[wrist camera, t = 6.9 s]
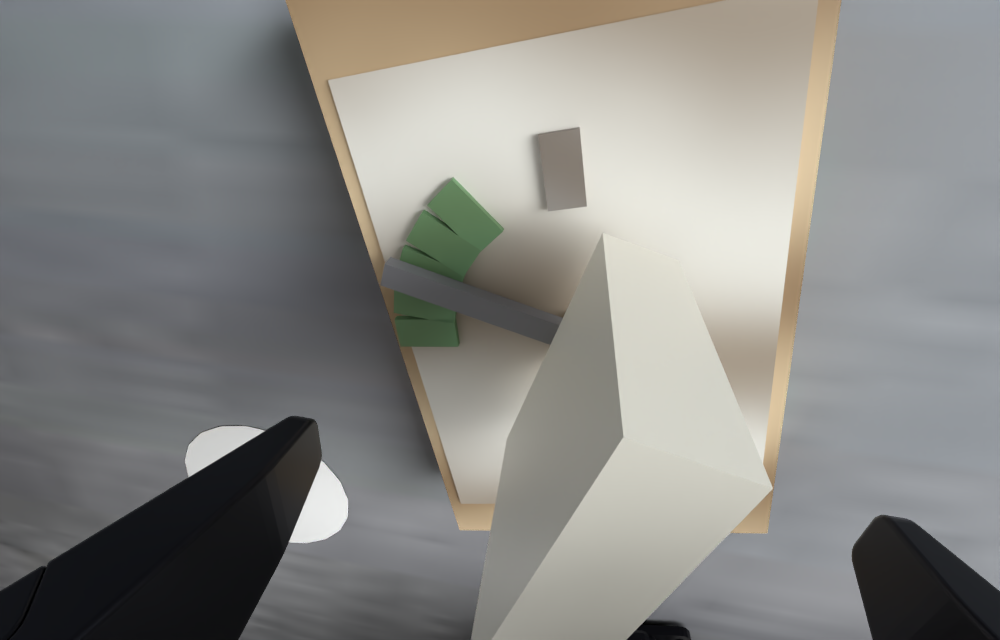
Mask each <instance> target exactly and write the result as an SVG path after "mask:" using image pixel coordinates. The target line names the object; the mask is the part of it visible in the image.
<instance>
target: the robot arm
mask: <svg viewBox="0 0 1000 640" xmlns="http://www.w3.org/2000/svg"><path fill="white" fill-rule="evenodd" d="M321 458H322V451H321V445H320V438H319V431H318V426H317V423H316V421H315V420H314V419H311V418H305V417H299V416H290V417H288V418H286V419H284V420H282V421H281V422H279V423H277V424H276V425H274V426H272V427H271V428H269V429H267V430H266V431H264V432H262V433H261V434H259V435H258V436H256V437H254V438H253V439H251V440H249V441H248V442H246V443H244V444H243V445H241V446H239V447H238V448H236V449H234V450H233V451H231V452H229V453H228V454H226V455H224V456H223V457H221V458H220V459H218V460H216V461H215V462H213V463H211V464H210V465H208V466H206V467H205V468H203V469H201V470H200V471H198V472H196V473H195V474H193V475H191V476H190V477H188V478H187V479H185V480H183V481H182V482H180V483H178V484H177V485H175V486H173V487H172V488H170V489H168V490H167V491H165V492H163V493H162V494H160V495H158V496H157V497H155V498H153V499H152V500H150V501H149V502H147V503H145V504H144V505H142V506H140V507H139V508H137V509H135V510H134V511H132V512H130V513H129V514H127V515H125V516H124V517H122V518H120V519H119V520H117V521H116V522H114V523H112V524H111V525H109V526H107V527H106V528H104V529H102V530H101V531H99V532H97V533H96V534H94V535H92V536H91V537H89V538H87V539H86V540H84V541H83V542H81V543H79V544H78V545H76V546H74V547H73V548H71V549H69V550H68V551H66V552H64V553H63V554H61V555H59V556H58V557H56V558H54V559H53V560H51V561H50V562H49V563H48V565H47V567H46V566H41V567H39V568H38V569H36V570H34V571H33V572H31V573H29V574H28V575H26V576H24V577H23V578H21V579H19V580H18V581H16V582H14V583H13V584H11V585H9V586H8V587H6V588H4V589H3V590H1V591H0V640H238V639H239V637H240V635H241V634H242V632H243V630H244V628H245V626H246V624H247V622H248V620H249V619H250V617H251V615H252V613H253V611H254V609H255V607H256V605H257V604H258V602H259V600H260V598H261V596H262V594H263V592H264V590H265V589H266V587H267V585H268V583H269V581H270V579H271V577H272V575H273V574H274V572H275V570H276V568H277V566H278V564H279V562H280V560H281V558H282V556H283V554H284V552H285V550H286V547H287V545H288V543H289V540H290V538H291V536H292V533H293V531H294V528H295V526H296V523H297V521H298V519H299V516H300V514H301V511H302V509H303V506H304V504H305V501H306V499H307V496H308V494H309V492H310V489H311V487H312V484H313V482H314V479H315V477H316V474H317V472H318V469H319V467H320V463H321ZM852 562H853V566H854V570H855V574H856V578H857V582H858V585H859V589H860V593H861V597H862V601H863V605H864V608H865V612H866V616H867V620H868V624H869V627H870V631H871V635H872V639H873V640H1000V591H999V590H998V589H996V588H995V587H994V586H993V585H991V584H990V583H989V582H988V581H986V580H985V579H984V578H983V577H981V576H980V575H979V574H978V573H977V572H975V571H974V570H973V569H972V568H970V567H969V566H968V565H967V564H965V563H964V562H963V561H962V560H960V559H959V558H958V557H957V556H956V555H954V554H953V553H952V552H951V551H949V550H948V549H947V548H946V547H944V546H943V545H942V544H941V543H939V542H938V541H937V540H936V539H935V538H933V537H932V536H931V535H930V534H928V533H927V532H926V531H925V530H923V529H922V528H921V527H920V526H918V525H917V524H916V523H914V522H913V521H911V520H908V519H905V518H900V517H894V516H888V515H880V516H877V517H875V518H874V519H873V520H872V522H871V523H870V524H869V526H868V527H867V528H866V530H865V531H864V532H863V534H862V535H861V536H860V537H859V539H858V540H857V541H856V543H855V544H854V546H853V549H852ZM627 640H691V637H690V632H689V630H687V629H686V628H683V627H677V626H656V625H640V626H639V627H638V628H637V629H636V630H635V631H634V632H633V633H632V634H631V636H630V637H629V638H628V639H627Z"/></svg>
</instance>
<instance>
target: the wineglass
mask: <svg viewBox="0 0 1000 640" xmlns="http://www.w3.org/2000/svg"><path fill="white" fill-rule="evenodd" d="M262 432H264V430H260V429H256V428H252V427H248V426H220V427H217V428H214V429H211V430H208V431H205V432H202V433H200V434H199V435H198V436H197V437H196V438H195V439H194V440H193V441H192V442H191V443H190V444H189V446H188V450H187V454H186V458H185V464H186V468H187V473H188V477H190V476H191V475H193V474H195V473H196V472H198V471H200V470H201V469H203V468H205V467H206V466H208V465H210V464H211V463H213V462H215V461H216V460H218V459H220V458H221V457H223V456H224V455H226V454H228V453H229V452H231V451H233V450H234V449H236V448H238V447H239V446H241V445H243V444H244V443H246V442H248V441H249V440H251V439H253V438H254V437H256V436H258V435H259V434H261V433H262ZM347 518H348V499H347V497H346V494H345V492H344V490H343V487H342V485H341V482H340V481H339V480H338V478H337V477H336V476H335V475H334V474H333V472H332V471H331V470H330V469H329V468H328V467H327V465H326V464H325V463H324V462H323V461H321V463H320V467H319V469H318V472H317V474H316V477H315V479H314V482H313V484H312V487H311V489H310V492H309V494H308V496H307V499H306V501H305V504H304V506H303V509H302V511H301V514H300V516H299V519H298V521H297V523H296V526H295V528H294V531H293V533H292V536H291V538H290V540H289V542H293V543H310V542H314V541H319V540H324V539H327V538H328V537H330V536H332V535H333V534H335V533H336V532H338V531H340V529H341V528H342V526H343V524H344V523H345V521H346V519H347Z"/></svg>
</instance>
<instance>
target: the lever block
mask: <svg viewBox="0 0 1000 640" xmlns="http://www.w3.org/2000/svg"><path fill="white" fill-rule="evenodd" d="M286 3H287V6H288V9H289V13H290V16H291V19H292V22H293V25H294V28H295V31H296V34H297V37H298V40H299V43H300V46H301V49H302V52H303V55H304V58H305V61H306V64H307V67H308V70H309V73H310V76H311V79H312V82H313V85H314V89H315V92H316V95H317V98H318V101H319V104H320V107H321V110H322V113H323V116H324V119H325V122H326V125H327V128H328V131H329V134H330V137H331V140H332V143H333V146H334V149H335V152H336V155H337V158H338V161H339V165H340V168H341V171H342V174H343V177H344V180H345V183H346V186H347V189H348V192H349V195H350V198H351V201H352V204H353V207H354V210H355V213H356V216H357V219H358V222H359V225H360V228H361V231H362V234H363V238H364V241H365V244H366V247H367V250H368V253H369V256H370V259H371V262H372V265H373V268H374V271H375V274H376V277H377V280H378V283H379V286H380V289H381V292H382V295H383V298H384V301H385V304H386V307H387V310H388V314H389V317H390V320H391V323H392V326H393V329H394V332H395V335H396V338H397V341H398V344H399V347H400V350H401V353H402V356H403V359H404V362H405V365H406V368H407V371H408V374H409V377H410V380H411V383H412V386H413V390H414V393H415V396H416V399H417V402H418V405H419V408H420V411H421V414H422V417H423V420H424V423H425V426H426V429H427V432H428V435H429V438H430V441H431V444H432V447H433V450H434V453H435V456H436V459H437V462H438V466H439V469H440V472H441V475H442V478H443V481H444V484H445V487H446V490H447V493H448V496H449V499H450V502H451V505H452V508H453V511H454V514H455V517H456V520H457V523H458V526H459V529H460V530H491V524H492V519H493V513H494V508H495V502H496V497H497V491H498V486H499V480H500V474H501V469H502V463H503V458H504V452H505V447H506V441H507V437H508V435H509V433H510V431H511V429H512V426H513V424H514V422H515V420H516V418H517V416H518V414H519V411H520V409H521V407H522V405H523V403H524V401H525V399H526V396H527V394H528V392H529V390H530V388H531V386H532V383H533V381H534V379H535V377H536V375H537V373H538V371H539V368H540V366H541V364H542V362H543V360H544V358H545V356H546V353H547V351H548V349H549V347H550V345H549V344H546V343H543V342H540V341H538V340H535V339H532V338H529V337H526V336H523V335H521V334H518V333H515V332H512V331H509V330H506V329H503V328H501V327H498V326H495V325H492V324H489V323H486V322H484V321H481V320H478V319H475V318H472V317H469V316H466V315H464V314H461V313H458V312H455V311H452V310H449V309H446V308H444V307H441V306H438V305H435V304H432V303H429V302H427V301H424V300H421V299H418V298H415V297H412V296H409V295H407V294H404V293H401V292H398V291H395V290H392V289H390V288H387V287H384V286H381V285H380V284H381V279H382V275H383V270H384V265H385V263H386V262H387V260H388V259H389V258H390V257H392V258H395V259H398V260H401V261H403V262H406V263H409V264H412V265H415V266H418V267H420V268H423V269H426V270H429V271H432V272H435V273H437V274H440V275H443V276H446V277H449V278H452V279H454V280H457V281H460V282H463V283H466V284H468V285H471V286H474V287H477V288H480V289H483V290H485V291H488V292H491V293H494V294H497V295H500V296H502V297H505V298H508V299H511V300H514V301H516V302H519V303H522V304H525V305H528V306H531V307H533V308H536V309H539V310H542V311H545V312H548V313H550V314H553V315H556V316H559V317H562V318H563V317H564V315H565V313H566V310H567V308H568V306H569V304H570V302H571V300H572V298H573V295H574V293H575V291H576V289H577V287H578V285H579V282H580V280H581V278H582V276H583V274H584V272H585V270H586V267H587V265H588V263H589V261H590V259H591V257H592V255H593V252H594V250H595V248H596V246H597V244H598V242H599V240H600V237H601V235H602V233H605V234H608V235H610V236H613V237H616V238H619V239H621V240H624V241H627V242H630V243H632V244H635V245H638V246H641V247H643V248H646V249H649V250H652V251H654V252H657V253H660V254H663V255H665V256H668V257H671V258H674V259H676V260H679V262H680V265H681V267H682V269H683V272H684V274H685V277H686V279H687V282H688V284H689V286H690V289H691V291H692V294H693V296H694V298H695V301H696V303H697V306H698V308H699V311H700V313H701V315H702V318H703V320H704V323H705V325H706V327H707V330H708V332H709V335H710V337H711V340H712V342H713V344H714V347H715V349H716V352H717V354H718V357H719V359H720V361H721V364H722V366H723V369H724V371H725V373H726V376H727V378H728V381H729V383H730V386H731V388H732V390H733V393H734V395H735V398H736V400H737V402H738V405H739V407H740V410H741V412H742V415H743V417H744V419H745V422H746V424H747V427H748V429H749V432H750V434H751V436H752V439H753V441H754V444H755V446H756V448H757V451H758V453H759V456H760V458H761V461H762V463H763V465H764V468H765V470H766V473H767V475H768V477H769V480H770V482H771V485H772V487H773V489H774V482H775V474H776V467H777V460H778V453H779V446H780V438H781V431H782V424H783V417H784V409H785V402H786V395H787V388H788V381H789V373H790V366H791V359H792V352H793V345H794V337H795V330H796V323H797V316H798V309H799V301H800V294H801V287H802V280H803V273H804V265H805V258H806V251H807V244H808V237H809V229H810V222H811V215H812V208H813V201H814V193H815V186H816V179H817V172H818V165H819V157H820V150H821V143H822V136H823V128H824V121H825V114H826V107H827V100H828V92H829V85H830V78H831V71H832V64H833V56H834V49H835V42H836V35H837V28H838V20H839V13H840V6H841V0H286ZM773 489H772V490H771V491H770V492H769V493H768V494H767V495H766V496H765V497H764V498H763V500H762V501H761V502H760V503H759V504H758V505H757V506H756V507H755V508H754V509H753V510H752V511H751V512H750V513H749V514H748V515H747V516H746V517H745V518H744V519H743V520H742V521H741V522H740V523H739V524H738V525H737V526H736V527H735V528H734V529H733V530H732V531H731V532H730V533H767V532H768V525H769V518H770V510H771V503H772V496H773Z"/></svg>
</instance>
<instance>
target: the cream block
mask: <svg viewBox="0 0 1000 640" xmlns="http://www.w3.org/2000/svg"><path fill="white" fill-rule="evenodd" d="M380 285H381V286H384V287H387V288H390V289H392V290H395V291H398V292H401V293H404V294H407V295H409V296H412V297H415V298H418V299H421V300H424V301H427V302H429V303H432V304H435V305H438V306H441V307H444V308H446V309H449V310H452V311H455V312H458V313H461V314H464V315H466V316H469V317H472V318H475V319H478V320H481V321H484V322H486V323H489V324H492V325H495V326H498V327H501V328H503V329H506V330H509V331H512V332H515V333H518V334H521V335H523V336H526V337H529V338H532V339H535V340H538V341H540V342H543V343H546V344H549V345H550V347H549V349H548V351H547V353H546V356H545V358H544V360H543V362H542V364H541V366H540V368H539V371H538V373H537V375H536V377H535V379H534V381H533V383H532V386H531V388H530V390H529V392H528V394H527V396H526V399H525V401H524V403H523V405H522V407H521V409H520V411H519V414H518V416H517V418H516V420H515V422H514V424H513V426H512V429H511V431H510V433H509V435H508V437H507V441H506V447H505V452H504V458H503V463H502V469H501V474H500V480H499V486H498V491H497V497H496V502H495V508H494V513H493V519H492V524H491V530H490V536H489V541H488V547H487V552H486V558H485V563H484V569H483V574H482V580H481V585H480V591H479V597H478V602H477V608H476V613H475V619H474V624H473V630H472V635H471V640H627V639H628V638H629V637H630V636H631V634H632V633H633V632H634V631H635V630H636V629H637V628H638V627H639V626H640V625H641V624H642V623H643V622H644V621H645V620H646V619H647V618H648V617H649V616H650V615H651V614H652V613H653V612H654V611H655V610H656V609H657V608H658V607H659V606H660V605H661V604H662V603H663V602H664V600H665V599H666V598H667V597H668V596H669V595H670V594H671V593H672V592H673V591H674V590H675V589H676V588H677V587H678V586H679V585H680V584H681V583H682V582H683V581H684V580H685V579H686V578H687V577H688V576H689V575H690V574H691V573H692V572H693V571H694V570H695V569H696V568H697V566H698V565H699V564H700V563H701V562H702V561H703V560H704V559H705V558H706V557H707V556H708V555H709V554H710V553H711V552H712V551H713V550H714V549H715V548H716V547H717V546H718V545H719V544H720V543H721V542H722V541H723V540H724V539H725V538H726V537H727V536H728V535H729V534H730V532H731V531H732V530H733V529H734V528H735V527H736V526H737V525H738V524H739V523H740V522H741V521H742V520H743V519H744V518H745V517H746V516H747V515H748V514H749V513H750V512H751V511H752V510H753V509H754V508H755V507H756V506H757V505H758V504H759V503H760V502H761V501H762V500H763V498H764V497H765V496H766V495H767V494H768V493H769V492H770V491H771V490H772V489H773V487H772V485H771V482H770V480H769V477H768V475H767V473H766V470H765V468H764V465H763V463H762V461H761V458H760V456H759V453H758V451H757V448H756V446H755V444H754V441H753V439H752V436H751V434H750V432H749V429H748V427H747V424H746V422H745V419H744V417H743V415H742V412H741V410H740V407H739V405H738V402H737V400H736V398H735V395H734V393H733V390H732V388H731V386H730V383H729V381H728V378H727V376H726V373H725V371H724V369H723V366H722V364H721V361H720V359H719V357H718V354H717V352H716V349H715V347H714V344H713V342H712V340H711V337H710V335H709V332H708V330H707V327H706V325H705V323H704V320H703V318H702V315H701V313H700V311H699V308H698V306H697V303H696V301H695V298H694V296H693V294H692V291H691V289H690V286H689V284H688V282H687V279H686V277H685V274H684V272H683V269H682V267H681V265H680V262H679V260H676V259H674V258H671V257H668V256H665V255H663V254H660V253H657V252H654V251H652V250H649V249H646V248H643V247H641V246H638V245H635V244H632V243H630V242H627V241H624V240H621V239H619V238H616V237H613V236H610V235H608V234H605V233H602V235H601V237H600V240H599V242H598V244H597V246H596V248H595V250H594V252H593V255H592V257H591V259H590V261H589V263H588V265H587V267H586V270H585V272H584V274H583V276H582V278H581V280H580V282H579V285H578V287H577V289H576V291H575V293H574V295H573V298H572V300H571V302H570V304H569V306H568V308H567V310H566V313H565V315H564V317H563V318H562V317H559V316H556V315H553V314H550V313H548V312H545V311H542V310H539V309H536V308H533V307H531V306H528V305H525V304H522V303H519V302H516V301H514V300H511V299H508V298H505V297H502V296H500V295H497V294H494V293H491V292H488V291H485V290H483V289H480V288H477V287H474V286H471V285H468V284H466V283H463V282H460V281H457V280H454V279H452V278H449V277H446V276H443V275H440V274H437V273H435V272H432V271H429V270H426V269H423V268H420V267H418V266H415V265H412V264H409V263H406V262H403V261H401V260H398V259H395V258H392V257H390V258H389V259H388V260H387V262H386V263H385V265H384V270H383V275H382V279H381V284H380Z"/></svg>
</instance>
